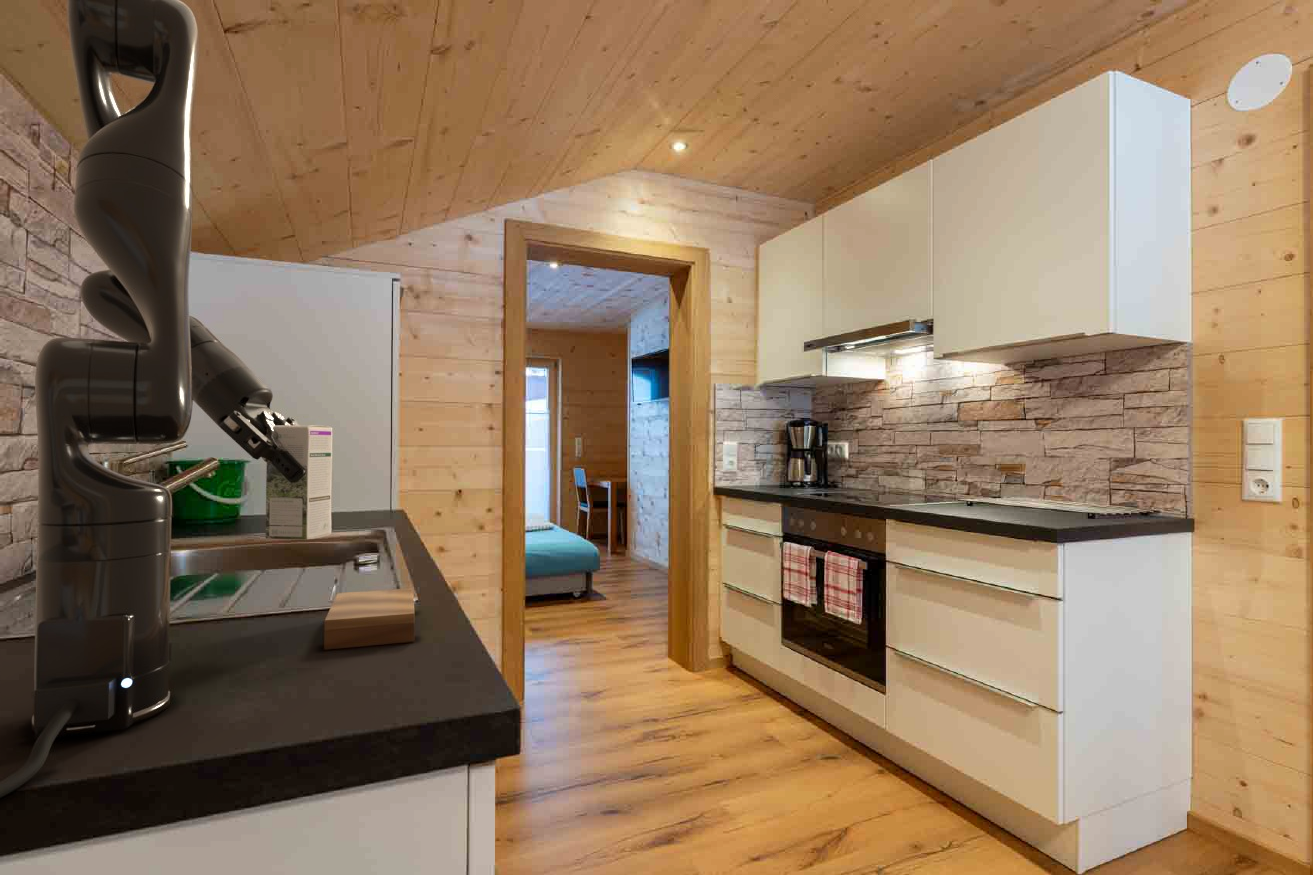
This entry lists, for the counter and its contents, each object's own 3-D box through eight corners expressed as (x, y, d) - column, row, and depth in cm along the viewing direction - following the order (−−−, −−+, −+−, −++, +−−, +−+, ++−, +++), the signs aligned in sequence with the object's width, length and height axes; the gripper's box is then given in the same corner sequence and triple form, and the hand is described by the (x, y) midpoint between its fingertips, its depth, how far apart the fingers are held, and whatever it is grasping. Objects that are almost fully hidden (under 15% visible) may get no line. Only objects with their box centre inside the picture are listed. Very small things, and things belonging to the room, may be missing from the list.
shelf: (414, 641, 82) (414, 613, 83) (324, 650, 79) (324, 620, 79) (412, 612, 97) (413, 588, 98) (336, 618, 94) (337, 593, 94)
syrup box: (333, 534, 89) (334, 426, 90) (305, 540, 83) (308, 424, 84) (292, 534, 90) (294, 426, 90) (262, 539, 84) (265, 424, 84)
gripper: (207, 357, 80) (306, 457, 80) (274, 371, 94) (358, 456, 94) (161, 401, 80) (260, 501, 80) (235, 409, 94) (319, 494, 94)
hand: (313, 476), depth 87 cm, fingers closed on syrup box, 6 cm apart
